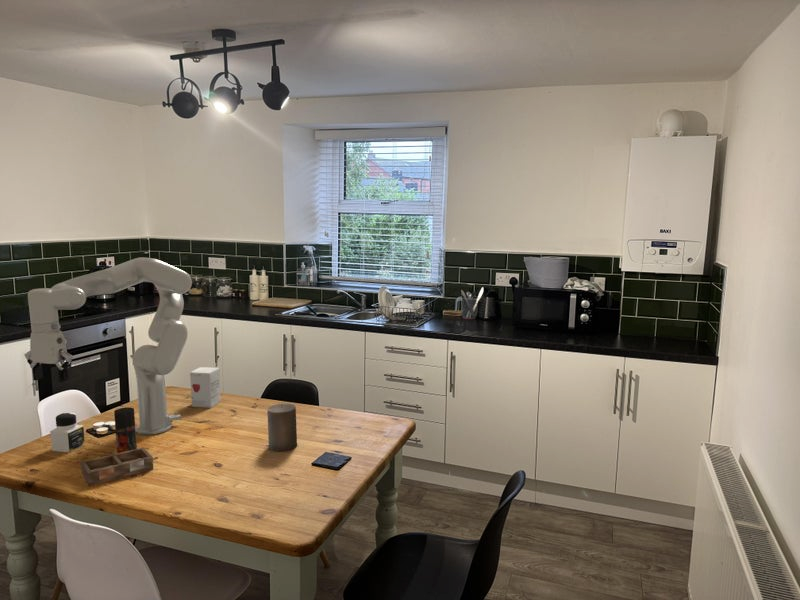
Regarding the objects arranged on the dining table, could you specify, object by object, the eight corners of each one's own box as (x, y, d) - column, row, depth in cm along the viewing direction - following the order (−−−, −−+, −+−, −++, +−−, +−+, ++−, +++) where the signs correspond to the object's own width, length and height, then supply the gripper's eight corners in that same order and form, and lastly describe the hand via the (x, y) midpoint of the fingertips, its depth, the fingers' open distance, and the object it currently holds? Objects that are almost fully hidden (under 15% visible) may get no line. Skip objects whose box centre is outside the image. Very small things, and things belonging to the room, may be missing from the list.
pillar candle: (303, 445, 198) (301, 403, 196) (279, 454, 191) (277, 410, 189) (286, 438, 205) (284, 397, 203) (262, 446, 198) (261, 404, 196)
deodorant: (141, 452, 193) (138, 408, 191) (125, 458, 187) (122, 414, 185) (128, 449, 195) (125, 406, 193) (113, 455, 190) (109, 411, 188)
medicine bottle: (69, 453, 192) (66, 418, 190) (51, 451, 193) (48, 416, 192) (85, 444, 199) (82, 411, 197) (67, 443, 200) (64, 410, 199)
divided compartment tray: (143, 459, 187) (143, 447, 187) (153, 469, 179) (152, 457, 179) (81, 474, 176) (80, 462, 175) (89, 486, 168) (88, 473, 167)
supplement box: (190, 407, 239) (189, 372, 237) (201, 400, 248) (200, 366, 246) (211, 408, 237) (209, 372, 235) (221, 401, 246) (219, 367, 244)
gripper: (77, 326, 183) (82, 378, 186) (32, 324, 187) (38, 375, 190) (58, 331, 176) (64, 385, 179) (12, 329, 180) (18, 382, 183)
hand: (51, 380), depth 184 cm, fingers open, 9 cm apart
